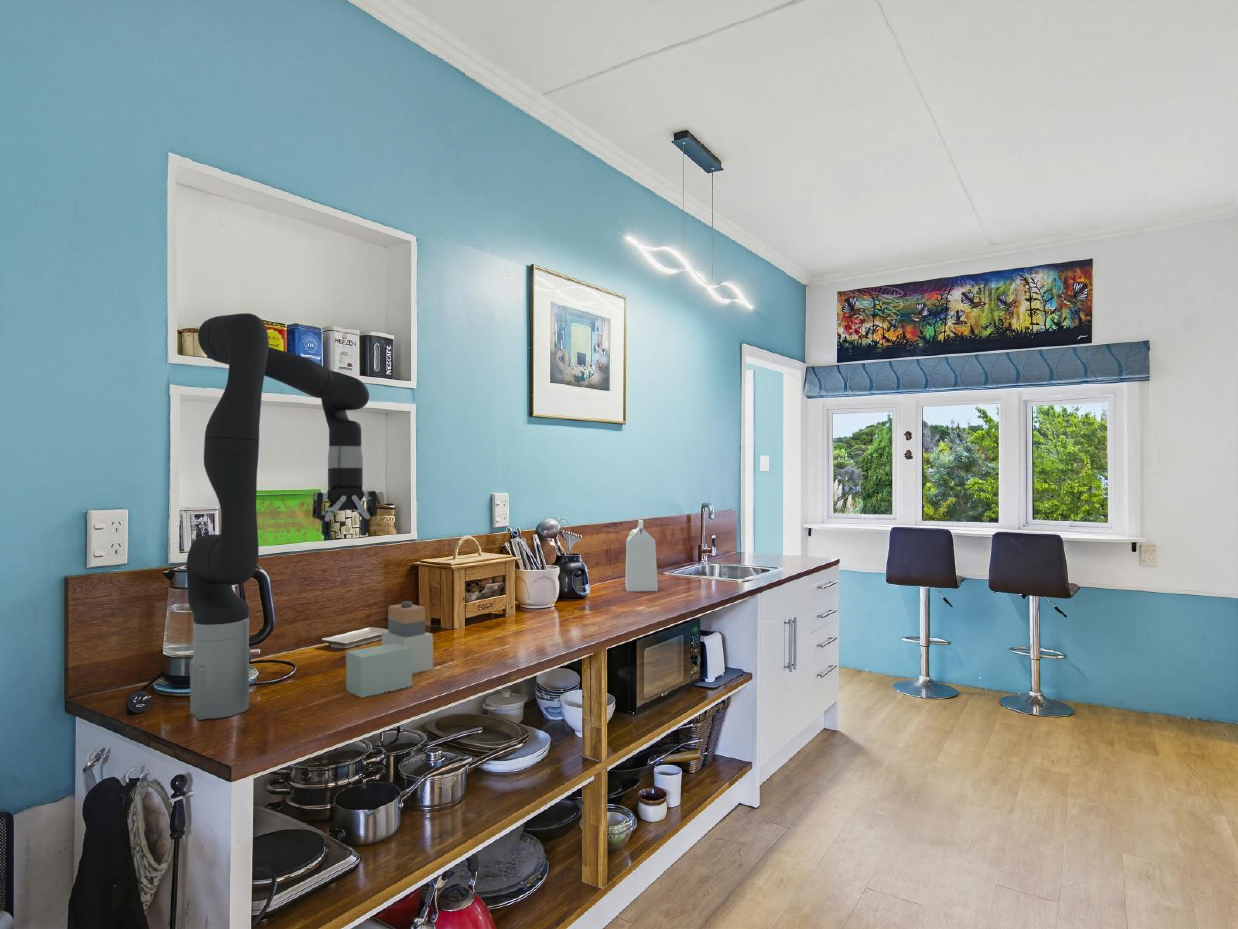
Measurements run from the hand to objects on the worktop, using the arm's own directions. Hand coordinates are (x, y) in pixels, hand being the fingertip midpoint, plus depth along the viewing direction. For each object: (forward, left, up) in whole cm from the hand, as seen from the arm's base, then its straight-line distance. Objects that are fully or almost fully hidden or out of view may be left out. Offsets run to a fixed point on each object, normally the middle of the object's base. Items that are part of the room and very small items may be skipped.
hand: (345, 536), depth 171 cm
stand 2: (+10, -10, -30) cm, 33 cm away
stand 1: (-2, -21, -30) cm, 37 cm away
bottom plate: (+10, -10, -22) cm, 26 cm away
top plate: (+10, -10, -19) cm, 24 cm away
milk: (+129, +32, -30) cm, 136 cm away
